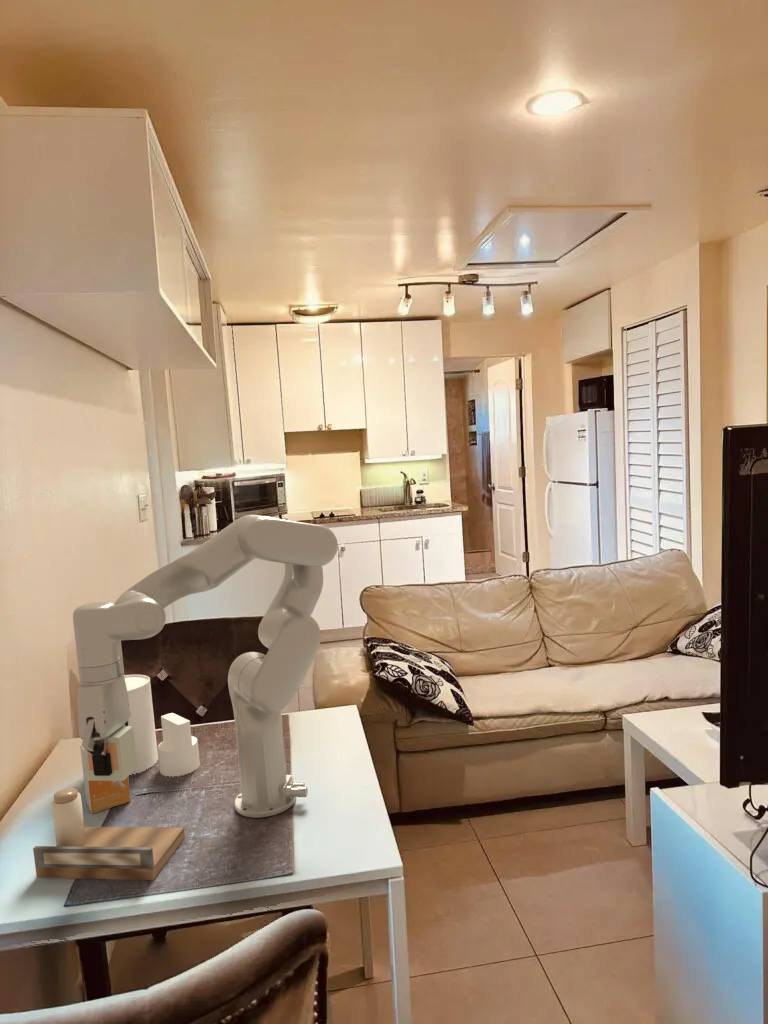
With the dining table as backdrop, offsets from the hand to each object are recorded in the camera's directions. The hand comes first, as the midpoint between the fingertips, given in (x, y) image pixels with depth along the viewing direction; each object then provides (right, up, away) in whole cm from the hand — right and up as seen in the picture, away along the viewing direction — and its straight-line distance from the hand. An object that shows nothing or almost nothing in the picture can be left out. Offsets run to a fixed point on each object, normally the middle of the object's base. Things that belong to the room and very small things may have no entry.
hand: (111, 766), depth 126 cm
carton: (0, -1, 0) cm, 2 cm away
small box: (-9, -16, +22) cm, 28 cm away
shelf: (0, -17, +1) cm, 17 cm away
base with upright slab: (+2, -14, +36) cm, 39 cm away
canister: (-12, -15, +40) cm, 44 cm away
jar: (-8, -15, +2) cm, 18 cm away
